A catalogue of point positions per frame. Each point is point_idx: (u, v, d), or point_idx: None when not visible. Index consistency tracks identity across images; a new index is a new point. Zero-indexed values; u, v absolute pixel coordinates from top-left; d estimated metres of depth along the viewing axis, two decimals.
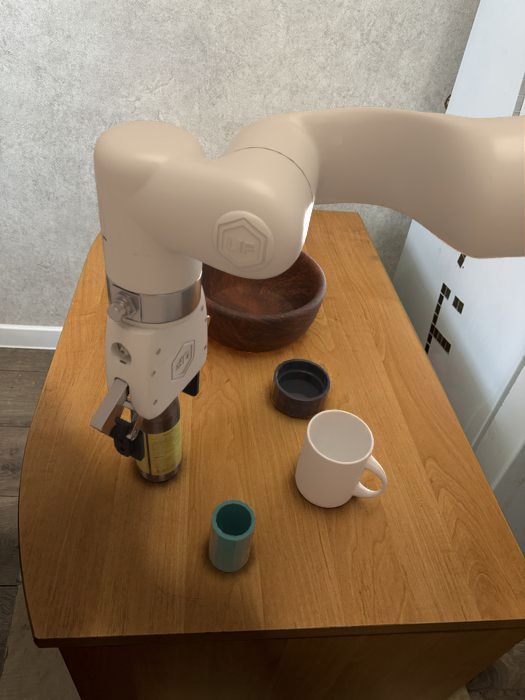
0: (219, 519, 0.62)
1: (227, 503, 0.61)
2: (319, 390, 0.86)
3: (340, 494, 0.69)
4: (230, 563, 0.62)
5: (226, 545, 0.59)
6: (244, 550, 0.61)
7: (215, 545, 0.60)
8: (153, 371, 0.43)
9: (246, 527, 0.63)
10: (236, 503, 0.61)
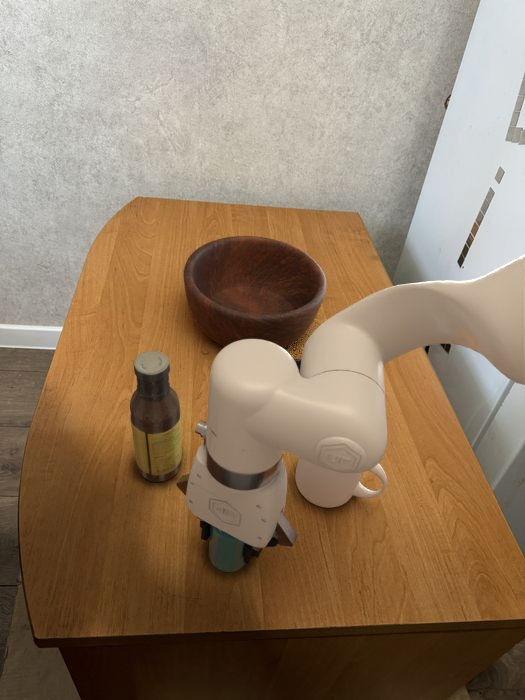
0: None
1: None
2: None
3: (340, 494, 0.69)
4: (230, 563, 0.62)
5: (226, 545, 0.59)
6: (244, 550, 0.61)
7: (215, 545, 0.60)
8: (194, 483, 0.54)
9: None
10: None
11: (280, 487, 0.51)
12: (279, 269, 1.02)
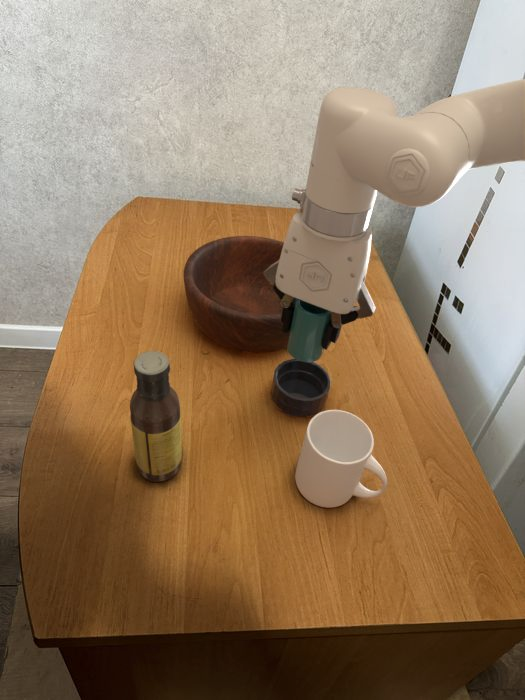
0: None
1: None
2: (319, 390, 0.86)
3: (340, 494, 0.69)
4: (310, 349, 0.69)
5: (309, 325, 0.66)
6: (324, 334, 0.68)
7: (298, 328, 0.67)
8: (287, 251, 0.61)
9: None
10: None
11: (369, 241, 0.58)
12: None
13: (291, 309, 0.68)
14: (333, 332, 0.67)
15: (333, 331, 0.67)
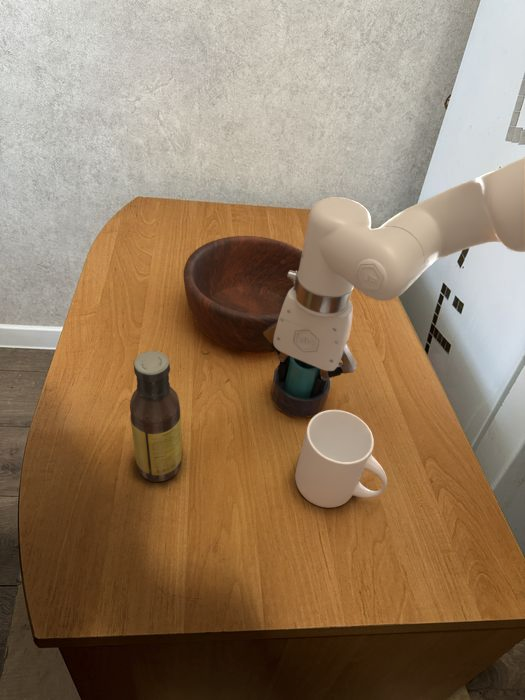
0: None
1: None
2: None
3: (340, 494, 0.69)
4: (302, 396, 0.81)
5: (301, 377, 0.79)
6: (314, 384, 0.80)
7: (292, 379, 0.80)
8: (283, 319, 0.74)
9: None
10: None
11: (350, 315, 0.70)
12: (279, 269, 1.02)
13: (286, 363, 0.80)
14: (322, 383, 0.80)
15: (322, 382, 0.80)
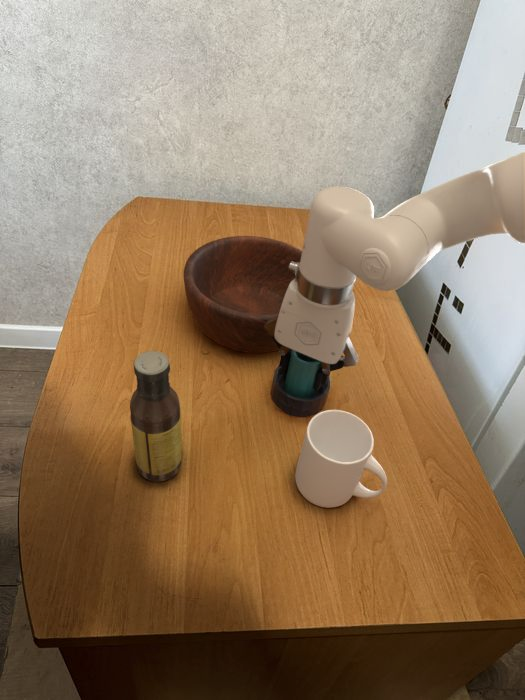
0: None
1: None
2: (319, 390, 0.86)
3: (340, 494, 0.69)
4: (303, 390, 0.81)
5: (303, 371, 0.78)
6: (315, 377, 0.80)
7: (294, 373, 0.79)
8: (284, 312, 0.73)
9: None
10: None
11: (352, 307, 0.69)
12: (279, 269, 1.02)
13: (288, 356, 0.80)
14: (323, 376, 0.79)
15: (323, 376, 0.79)
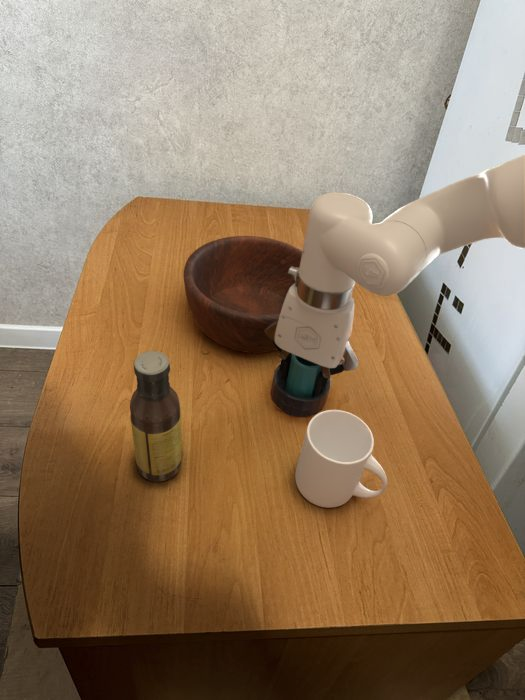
0: None
1: None
2: None
3: (340, 494, 0.69)
4: (304, 394, 0.81)
5: (303, 375, 0.78)
6: (315, 382, 0.80)
7: (294, 377, 0.79)
8: (284, 316, 0.73)
9: None
10: None
11: (351, 311, 0.70)
12: (279, 269, 1.02)
13: (288, 360, 0.80)
14: (323, 380, 0.79)
15: (323, 380, 0.79)
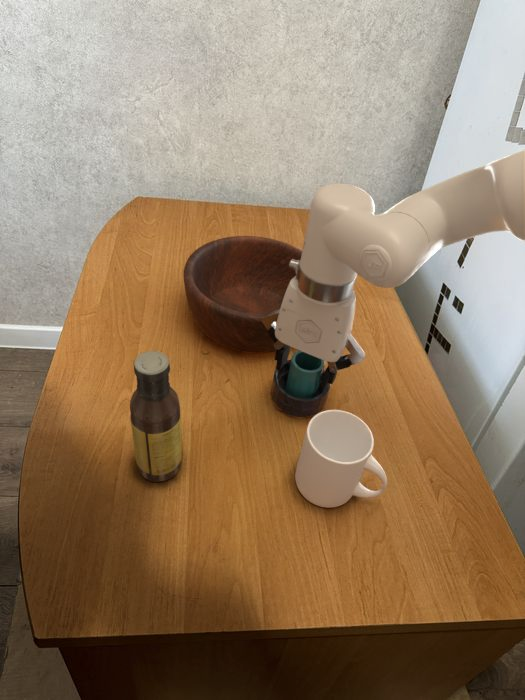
0: None
1: (301, 351, 0.81)
2: (319, 390, 0.86)
3: (340, 494, 0.69)
4: None
5: (302, 379, 0.79)
6: (315, 385, 0.80)
7: (294, 381, 0.80)
8: (285, 309, 0.72)
9: None
10: None
11: (353, 304, 0.69)
12: (279, 269, 1.02)
13: (283, 350, 0.79)
14: (330, 375, 0.78)
15: (330, 375, 0.78)
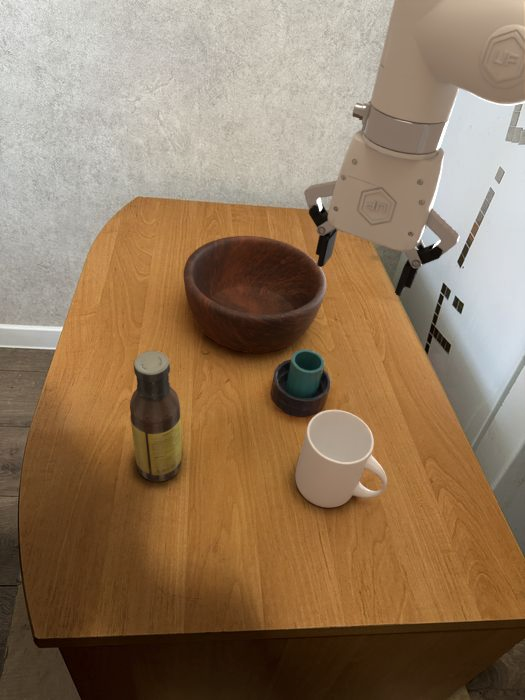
0: None
1: (301, 351, 0.81)
2: (319, 390, 0.86)
3: (340, 494, 0.69)
4: None
5: (302, 379, 0.79)
6: (315, 385, 0.80)
7: (294, 381, 0.80)
8: (345, 177, 0.54)
9: None
10: (308, 352, 0.81)
11: (442, 162, 0.50)
12: (279, 269, 1.02)
13: (329, 237, 0.60)
14: (410, 274, 0.59)
15: (410, 273, 0.59)
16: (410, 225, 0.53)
